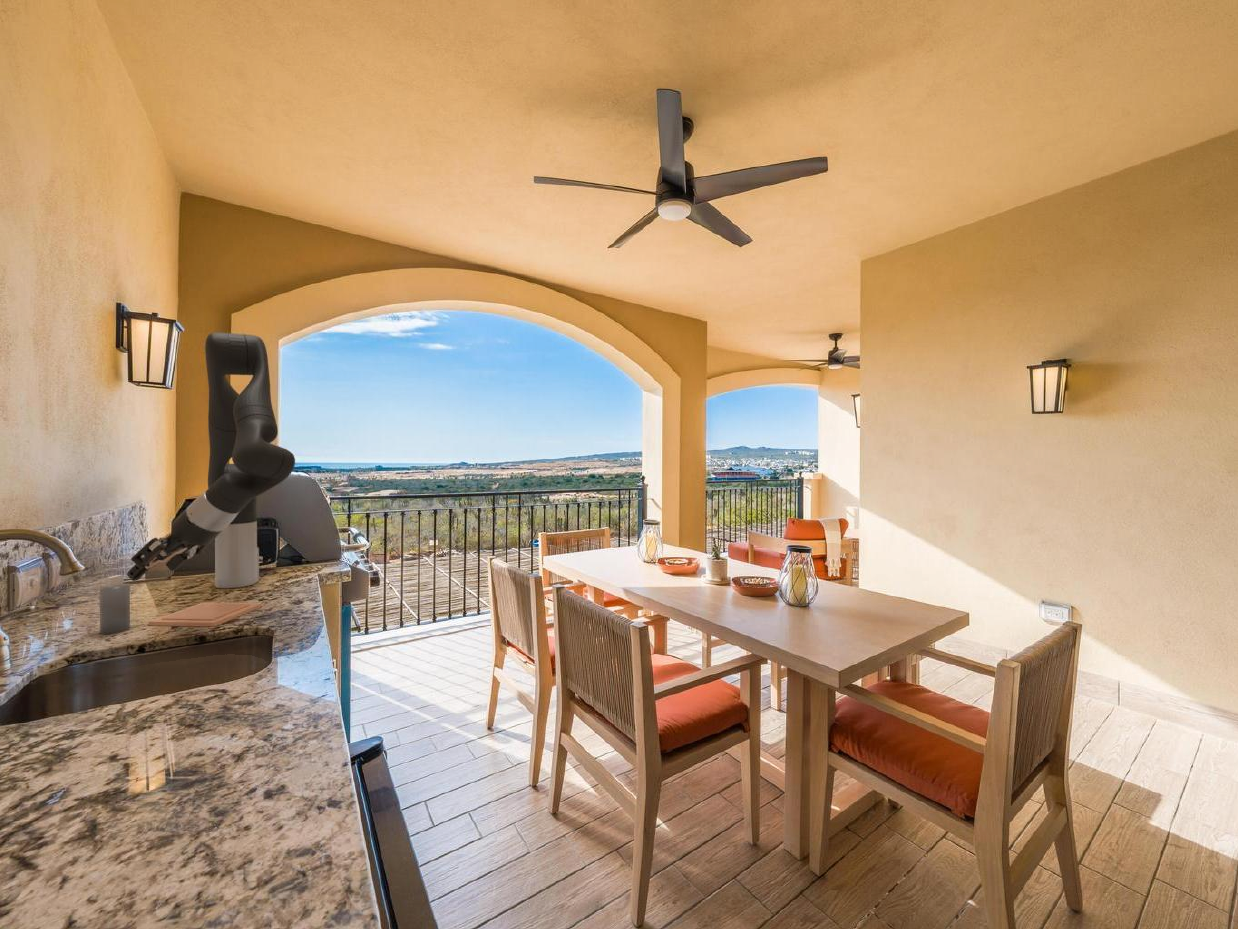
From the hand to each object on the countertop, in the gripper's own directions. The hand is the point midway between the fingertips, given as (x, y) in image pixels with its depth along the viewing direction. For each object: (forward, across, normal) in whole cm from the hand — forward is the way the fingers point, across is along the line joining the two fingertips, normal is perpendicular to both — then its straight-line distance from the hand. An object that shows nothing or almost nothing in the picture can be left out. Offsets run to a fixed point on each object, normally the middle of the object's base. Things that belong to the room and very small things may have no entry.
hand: (151, 572), depth 105 cm
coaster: (+6, -10, +11) cm, 16 cm away
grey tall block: (+14, 0, +3) cm, 14 cm away
